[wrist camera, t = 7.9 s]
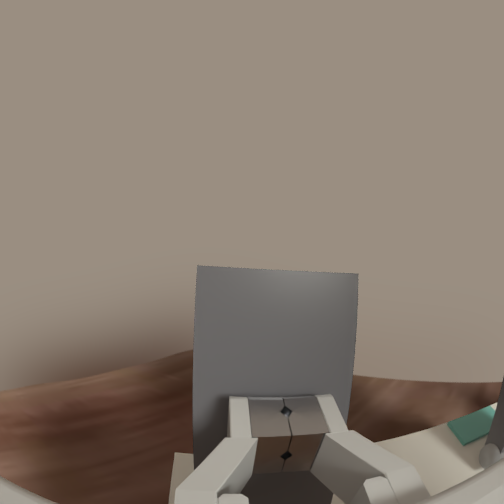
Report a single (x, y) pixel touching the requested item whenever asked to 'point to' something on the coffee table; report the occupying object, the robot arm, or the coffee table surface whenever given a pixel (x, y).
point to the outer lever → (270, 356)
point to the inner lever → (494, 436)
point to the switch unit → (413, 453)
